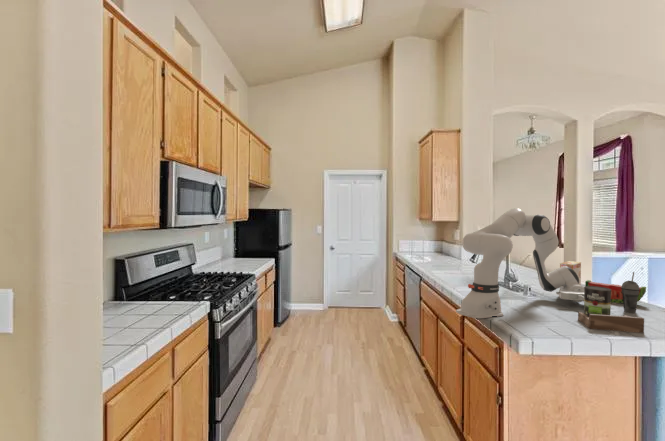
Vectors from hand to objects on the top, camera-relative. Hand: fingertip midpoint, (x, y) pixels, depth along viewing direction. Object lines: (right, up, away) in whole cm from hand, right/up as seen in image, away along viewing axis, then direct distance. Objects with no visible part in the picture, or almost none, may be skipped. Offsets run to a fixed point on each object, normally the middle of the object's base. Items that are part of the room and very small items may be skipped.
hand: (587, 299), depth 183 cm
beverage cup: (+20, -6, -1) cm, 21 cm away
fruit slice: (+29, -6, +20) cm, 36 cm away
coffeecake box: (+15, -5, +36) cm, 39 cm away
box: (-7, -6, -23) cm, 24 cm away
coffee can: (-3, -6, -12) cm, 14 cm away
